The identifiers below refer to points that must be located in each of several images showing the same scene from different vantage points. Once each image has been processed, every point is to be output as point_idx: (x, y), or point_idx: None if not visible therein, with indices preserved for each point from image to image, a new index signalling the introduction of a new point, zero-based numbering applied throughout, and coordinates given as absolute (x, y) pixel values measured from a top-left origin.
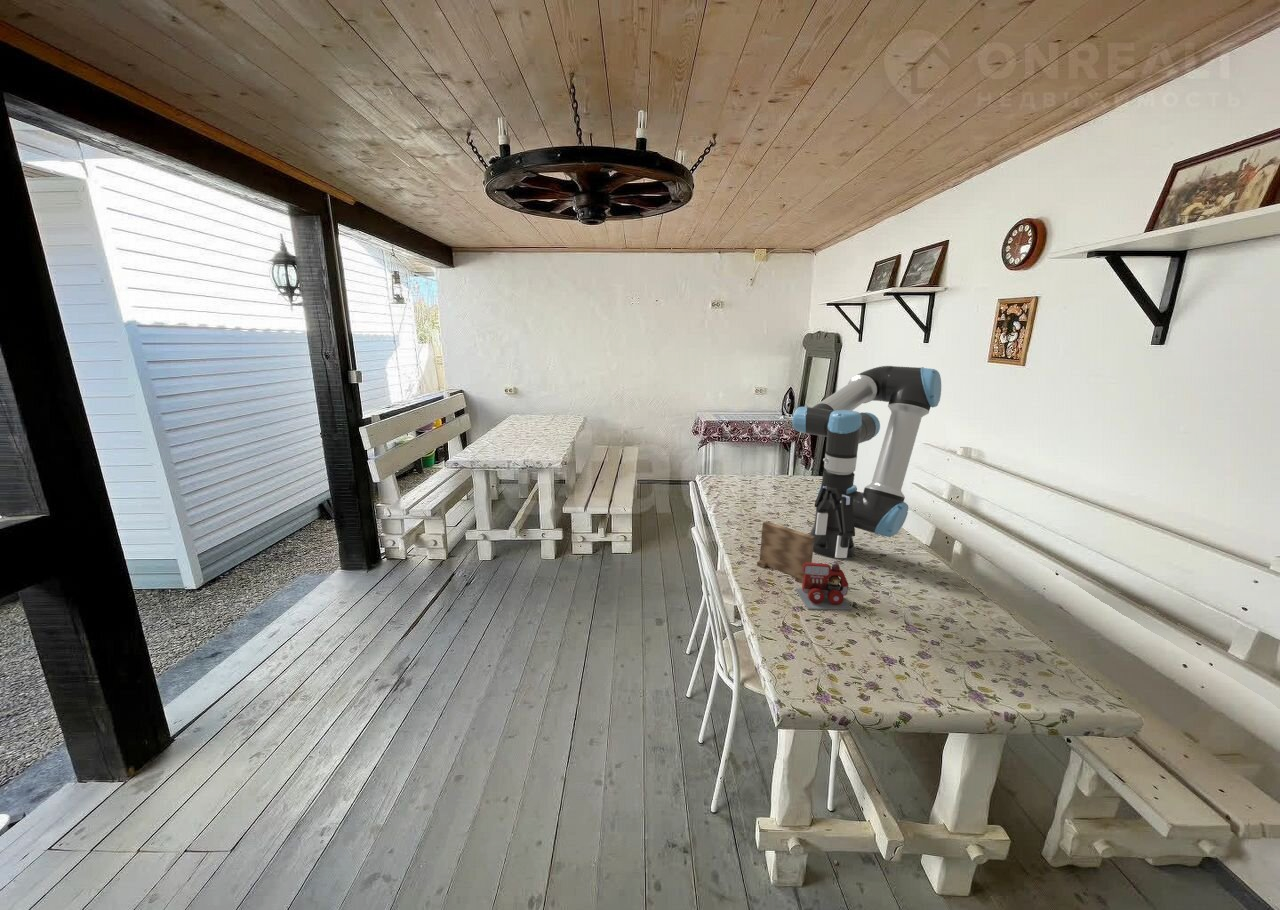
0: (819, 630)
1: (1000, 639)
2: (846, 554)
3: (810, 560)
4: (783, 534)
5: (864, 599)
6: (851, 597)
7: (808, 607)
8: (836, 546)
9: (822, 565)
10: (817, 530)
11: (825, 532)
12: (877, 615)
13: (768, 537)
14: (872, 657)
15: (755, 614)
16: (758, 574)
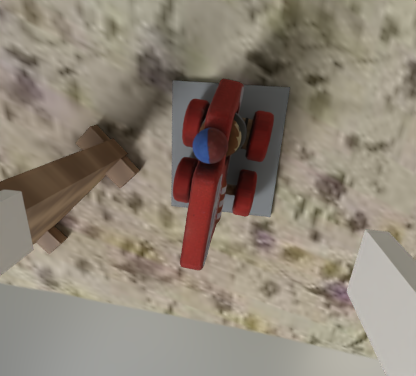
0: (363, 228)
1: None
2: (401, 251)
3: (82, 163)
4: None
5: (235, 5)
6: (220, 50)
7: (267, 214)
8: (387, 366)
9: (208, 211)
10: (7, 265)
11: (7, 202)
12: (334, 10)
13: None
14: None
15: (272, 329)
16: (101, 261)
